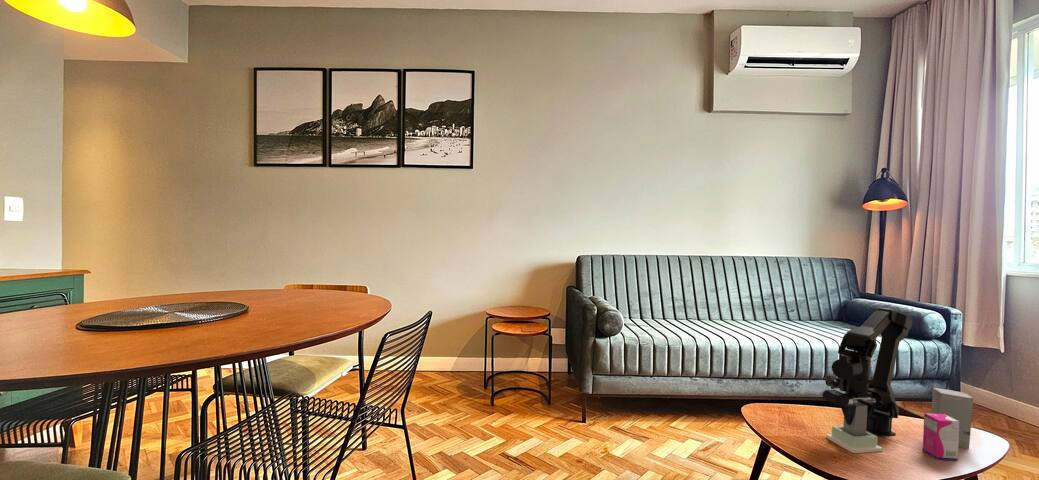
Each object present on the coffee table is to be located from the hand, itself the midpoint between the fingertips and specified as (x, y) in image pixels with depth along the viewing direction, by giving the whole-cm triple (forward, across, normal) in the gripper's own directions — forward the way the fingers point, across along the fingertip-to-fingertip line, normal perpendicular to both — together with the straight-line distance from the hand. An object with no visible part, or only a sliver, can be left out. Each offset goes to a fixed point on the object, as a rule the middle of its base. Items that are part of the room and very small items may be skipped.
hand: (854, 424), depth 145 cm
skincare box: (+6, -32, +2) cm, 33 cm away
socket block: (+6, 0, 0) cm, 6 cm away
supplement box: (+6, -20, +9) cm, 23 cm away
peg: (+4, 0, 0) cm, 4 cm away
